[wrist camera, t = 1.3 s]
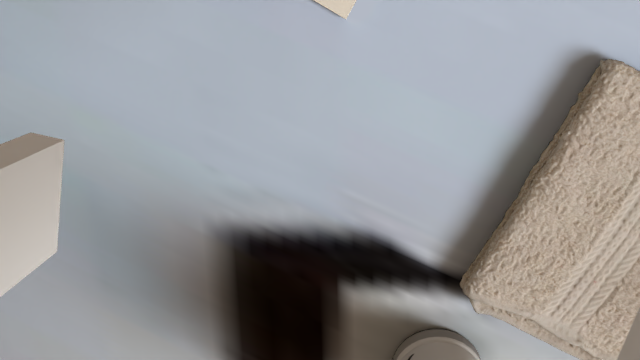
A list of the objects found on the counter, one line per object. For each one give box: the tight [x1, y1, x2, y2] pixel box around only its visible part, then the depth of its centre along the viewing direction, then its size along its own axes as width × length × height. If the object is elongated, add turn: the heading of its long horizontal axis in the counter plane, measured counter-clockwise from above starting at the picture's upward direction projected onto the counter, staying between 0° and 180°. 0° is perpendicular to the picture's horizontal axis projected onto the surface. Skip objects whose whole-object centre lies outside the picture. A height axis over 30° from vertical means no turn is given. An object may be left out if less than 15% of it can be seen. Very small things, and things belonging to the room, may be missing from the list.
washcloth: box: [460, 59, 640, 360], centre depth 36 cm, size 12×18×3 cm, turn 155°
